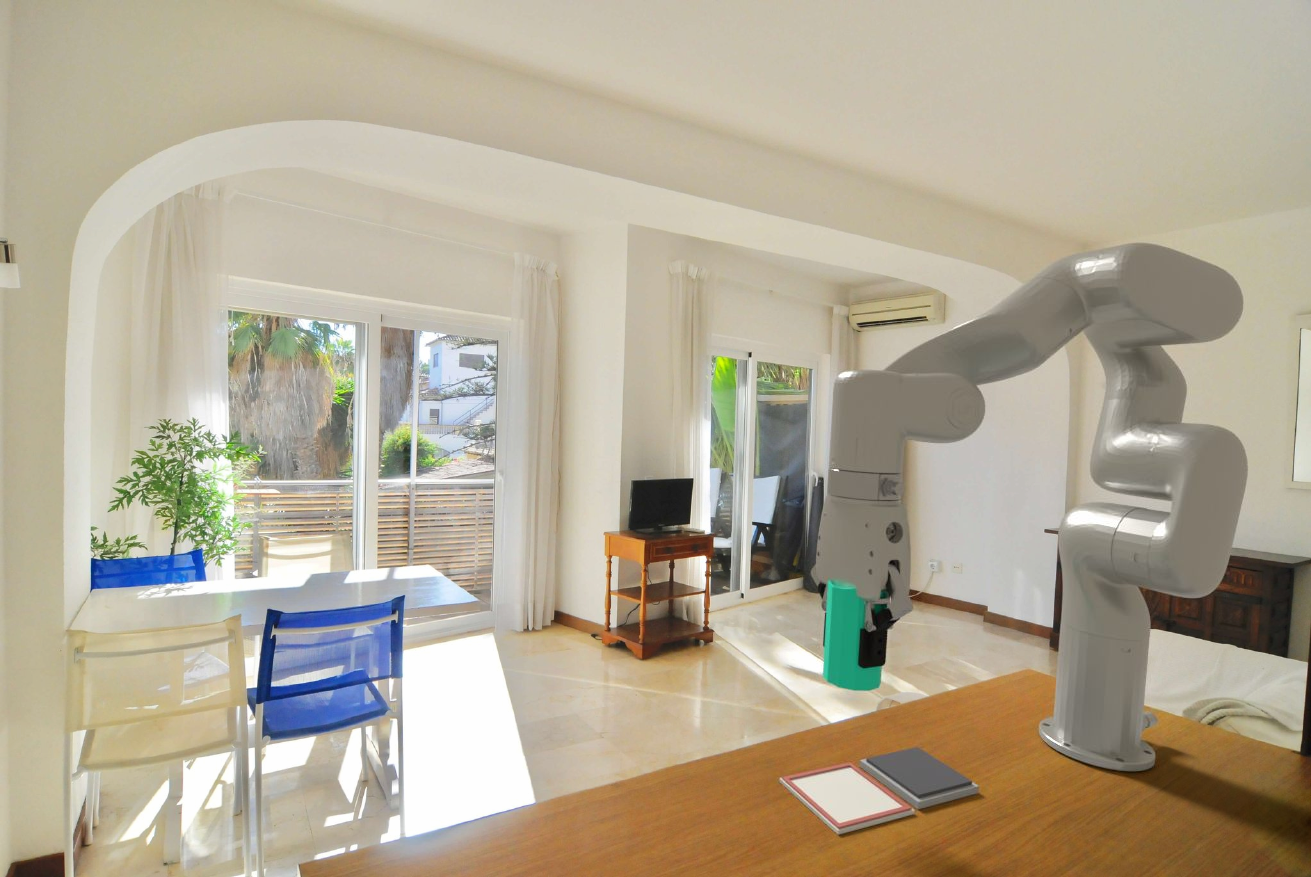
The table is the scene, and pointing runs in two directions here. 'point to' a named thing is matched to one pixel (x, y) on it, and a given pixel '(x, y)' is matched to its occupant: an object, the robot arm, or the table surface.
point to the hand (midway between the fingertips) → (853, 654)
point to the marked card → (845, 797)
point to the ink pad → (919, 777)
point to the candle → (846, 641)
